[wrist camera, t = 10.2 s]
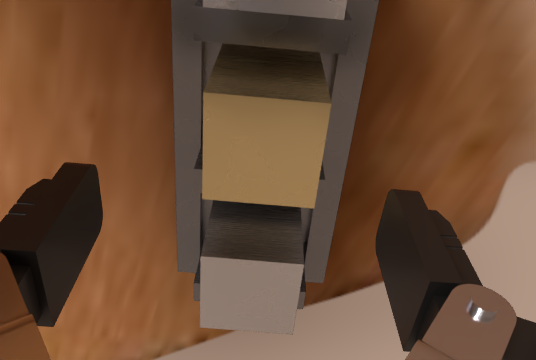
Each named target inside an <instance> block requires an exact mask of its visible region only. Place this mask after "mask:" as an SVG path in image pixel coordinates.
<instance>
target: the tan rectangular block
mask: <svg viewBox="0 0 536 360" xmlns="http://www.w3.org/2000/svg"><path fill="white" fill-rule="evenodd" d="M331 105H332V103H331V99H330V95H329V90H328V86H327V82H326V77H325V73H324V69H323V64H322V60H321V56H320V52H313V51H302V50H291V49H280V48H269V47H258V46H247V45H236V44H225V43H223V44H222V47H221V49H220V52H219V54H218V57H217V59H216V62H215V64H214V67H213V69H212V72H211V74H210V77H209V80H208V82H207V85H206V87H205V90H204V92H203V171H202V199H208V200H219V201H231V202H243V203H255V204H267V205H279V206H291V207H303V208H314V207H315V201H316V195H317V189H318V183H319V177H320V171H321V165H322V159H323V153H324V147H325V141H326V135H327V129H328V123H329V117H330V111H331Z"/></svg>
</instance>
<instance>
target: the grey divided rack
mask: <svg viewBox="0 0 536 360" xmlns="http://www.w3.org/2000/svg"><path fill="white" fill-rule="evenodd" d="M378 3H379V0H171V20H172V60H173V100H174V140H175V180H176V220H177V260H178V272H191V273H196V276H195V280H194V300H195V301H200V327H202V328H215V329H227V330H240V331H253V332H266V333H279V334H293V330H294V323H295V317H296V311H297V309H303V306H304V300H305V294H306V286H305V282H315V283H323V282H324V277H325V272H326V267H327V262H328V257H329V252H330V247H331V242H332V236H333V231H334V226H335V221H336V216H337V211H338V206H339V201H340V196H341V191H342V186H343V181H344V176H345V171H346V165H347V160H348V155H349V150H350V145H351V140H352V135H353V130H354V125H355V120H356V115H357V110H358V105H359V99H360V94H361V89H362V84H363V79H364V74H365V69H366V64H367V59H368V54H369V49H370V44H371V39H372V33H373V28H374V23H375V18H376V13H377V8H378ZM223 43H225V44H236V45H247V46H258V47H269V48H280V49H291V50H302V51H313V52H320V56H321V60H322V64H323V69H324V73H325V77H326V82H327V86H328V90H329V95H330V99H331V103H332V105H331V111H330V117H329V123H328V129H327V135H326V141H325V147H324V153H323V159H322V165H321V171H320V177H319V183H318V189H317V195H316V201H315V207H314V208H303V207H291V206H279V205H267V204H255V203H243V202H231V201H219V200H208V199H202V171H203V92H204V90H205V87H206V85H207V82H208V80H209V77H210V74H211V72H212V69H213V67H214V64H215V62H216V59H217V57H218V54H219V52H220V49H221V47H222V44H223Z"/></svg>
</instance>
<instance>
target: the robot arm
mask: <svg viewBox="0 0 536 360" xmlns="http://www.w3.org/2000/svg"><path fill="white" fill-rule="evenodd" d="M102 219H103V210H102V202H101V194H100V186H99V178H98V171H97V168H96V166H95V165H93V164H82V163H69V162H66V163H64V164H63V165H62V166H61V168H60V169H59V170H58V172H57V173H56V174H55V176H54V177H53V178H52V180H51V179H42V180H41V181H39V182H37V183H36V184H34V185H33V186H31V187H29V188H28V189H26V191H25V192H24V193H23V194H22V196H21V197H20V198H19V199H18V201H17V204H14V206H13V207H12V208H11V209H10V211H9V214H8V215H6V216H5V217H4V218H3V219H2V221H1V222H0V360H51V359H50V356H49V354H48V351H47V349H46V346H45V344H44V342H43V339H42V337H41V334H40V332H39V329H38V327H37V326H47V327H54V325H55V323H56V321H57V319H58V317H59V315H60V313H61V310H62V308H63V306H64V304H65V302H66V300H67V298H68V296H69V294H70V292H71V290H72V288H73V286H74V284H75V282H76V280H77V278H78V276H79V274H80V272H81V270H82V268H83V266H84V264H85V262H86V260H87V258H88V255H89V253H90V251H91V249H92V247H93V245H94V243H95V241H96V239H97V237H98V235H99V233H100V230H101V226H102ZM376 254H377V258H378V262H379V265H380V269H381V273H382V276H383V280H384V283H385V287H386V290H387V294H388V298H389V301H390V305H391V308H392V312H393V316H394V319H395V322H396V326H397V330H398V333H399V337H400V341H401V344H402V348H403V351H410V353H409V354H408V356H407V358H406V359H405V360H536V323H534V322H531V321H528V320H525V319H522V318H519V317H517V316H516V313H515V311H514V309H513V307H512V306H511V305H510V303H509V302H508V301H507V300H506V299H505V298H503V297H502V296H501V295H499V294H498V293H496V292H495V291H493V290H491V289H488V288H486V287H483V285H482V283H481V282H480V280H479V278H478V276H477V274H476V272H475V270H474V268H473V266H472V264H471V262H470V260H469V258H468V256H467V255H466V253H465V251H464V250H462V245H461V243H460V241H459V239H457V235H456V233H455V232H454V230H453V228H452V226H451V224H450V222H449V221H447V220H446V219H445V218H444V217H443V216H442V215H441V214H440V213H439V212H438V211H436V210H428V208H427V206H426V204H425V202H424V200H423V198H422V196H421V194H420V192H418V191H409V190H397V189H391V190H390V191H389V192H388V195H387V198H386V202H385V205H384V209H383V213H382V216H381V220H380V223H379V227H378V231H377V235H376Z"/></svg>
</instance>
